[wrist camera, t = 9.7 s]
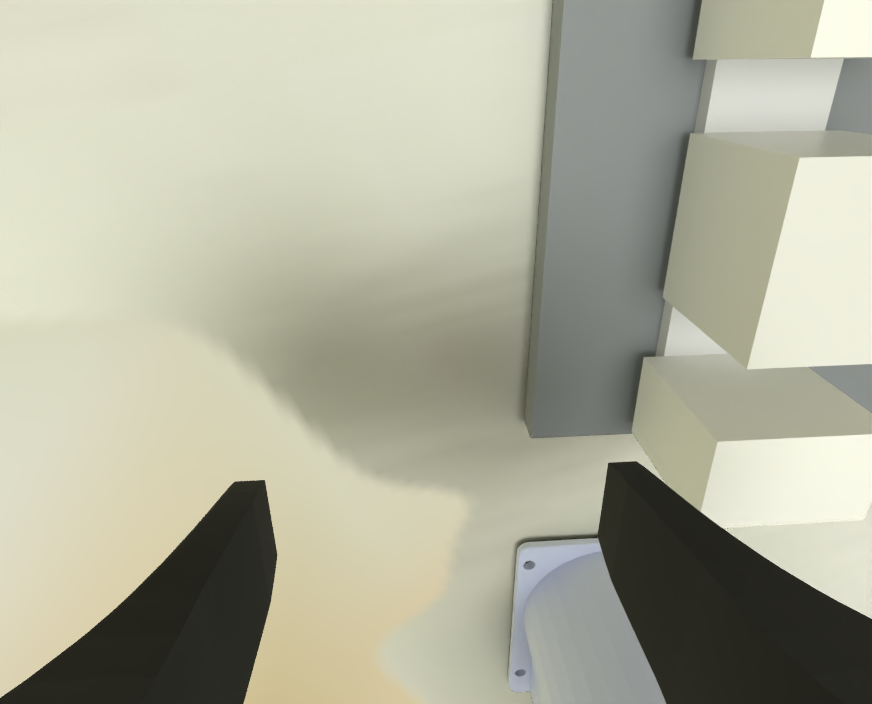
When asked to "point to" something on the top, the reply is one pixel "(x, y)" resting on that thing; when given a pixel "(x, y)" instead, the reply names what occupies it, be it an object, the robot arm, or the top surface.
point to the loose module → (777, 246)
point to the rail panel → (652, 238)
